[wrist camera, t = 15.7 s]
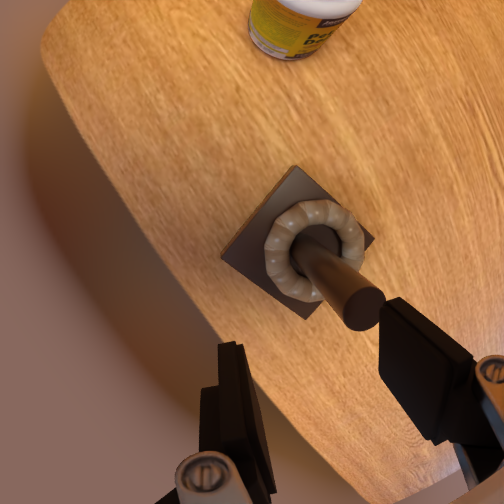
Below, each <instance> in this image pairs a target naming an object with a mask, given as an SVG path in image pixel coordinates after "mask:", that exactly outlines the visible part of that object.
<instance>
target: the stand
mask: <svg viewBox="0 0 504 504" xmlns="http://www.w3.org/2000/svg"><path fill="white" fill-rule="evenodd" d="M322 199H327V200H330V201H332V202H334V203H336V204H338V205H340V204H339V203H338V202H337V201H336V200H335V199H334V198H333V197H331V196H330V195H329V194H328V193H327V192H326V191H325V190H324V189H323V188H322V187H321V186H320V185H318V184H317V183H316V182H315V181H314V180H313V179H312V178H311V177H310V176H308V175H307V174H306V173H305V172H304V171H303V170H302V169H300V168H299V167H298V166H297V165H293V166H292V167H291V168H290V169H289V170H288V171H287V173H286V174H285V175H284V176H283V177H282V179H281V180H280V181H279V182H278V183H277V185H276V186H275V187H274V188H273V189H272V191H271V192H270V193H269V194H268V195H267V197H266V198H265V199H264V200H263V202H262V203H261V204H260V205H259V206H258V208H257V209H256V210H255V211H254V213H253V214H252V215H251V216H250V217H249V219H248V220H247V221H246V222H245V224H244V225H243V226H242V227H241V228H240V230H239V231H238V232H237V233H236V235H235V236H234V237H233V238H232V240H231V241H230V242H229V243H228V245H227V246H226V247H225V248H224V250H223V251H222V252H221V259H222V260H224V261H225V262H226V263H228V264H229V265H230V266H232V267H233V268H234V269H236V270H237V271H239V272H240V273H241V274H243V275H244V276H245V277H247V278H248V279H249V280H251V281H252V282H253V283H255V284H256V285H258V286H259V287H260V288H262V289H263V290H264V291H266V292H267V293H268V294H270V295H271V296H273V297H274V298H275V299H277V300H278V301H279V302H281V303H282V304H284V305H285V306H286V307H288V308H289V309H291V310H292V311H293V312H295V313H296V314H297V315H299V316H300V317H302V318H303V319H304V320H306V319H307V318H308V317H309V316H310V315H311V314H312V313H313V312H314V311H315V309H316V308H317V307H318V306H319V305H320V304H321V303H322V302H323V300H321V301H315V302H309V303H307V302H303V301H300V300H298V299H295V298H292V297H290V296H287V295H285V294H283V293H282V292H281V291H280V290H279V288H278V287H277V286H276V284H275V283H274V282H273V281H272V279H271V278H270V277H269V275H268V274H267V271H266V262H265V251H264V244H265V241H266V239H267V237H268V235H269V233H270V231H271V228H272V226H273V224H274V222H275V220H276V219H277V218H278V217H279V216H280V215H282V214H283V213H284V212H286V211H287V210H288V209H290V208H291V207H293V206H294V205H295V204H297V203H299V202H301V201H311V200H322ZM340 206H341V205H340ZM356 221H357V220H356ZM357 222H358V221H357ZM358 224H359V226H360V228H361V229H362V231H363V233H364V252H365V251H366V249H367V248H368V247H369V246H370V244H371V243H372V242H373V241H374V239H375V238H374V237H373V236H372V235H371V234H370V233H369V232H368V231H367V230H366V229H365V228H364V227H363V226H362V225H361V224H360V223H359V222H358ZM289 255H290V264H291V266H292V267H293V269H294V270H295V271H296V273H297V274H298V275H300V276H303V277H305V278H308V279H310V281H311V282H312V283H313V284H314V286H315V287H316V288H317V289H318V291H319V292H320V293H321V294H322V296H323V297H324V298H325V299H326V301H327V302H328V303H329V305H330V306H331V307H332V308H333V310H334V311H335V312H336V313H337V315H338V316H339V317H340V318H341V320H342V321H343V322H344V324H345V325H346V326H347V327H348V328H349V329H351V330H354V331H365V330H368V329H370V328H372V327H374V326H375V325H376V324H377V323H378V322H379V309H380V307H383V303H384V302H385V301H386V298H385V295H384V293H383V292H382V291H381V290H380V289H379V288H377V287H376V286H375V285H374V284H372V283H371V282H370V281H369V280H367V279H366V278H365V277H364V276H362V275H361V274H360V273H359V272H357V271H356V270H355V269H353V268H352V267H351V266H350V265H348V264H347V263H346V262H344V261H343V260H342V259H341V256H342V240H341V239H340V237H339V236H338V234H337V232H336V231H335V229H332V228H330V227H328V226H326V225H324V224H318V225H309V226H307V227H306V228H305V229H303V230H302V231H301V232H299V233H298V234H297V235H296V236H295V238H294V240H293V242H292V244H291V246H290V249H289Z"/></svg>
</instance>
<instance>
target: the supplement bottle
mask: <svg viewBox="0 0 504 504" xmlns="http://www.w3.org/2000/svg"><path fill="white" fill-rule="evenodd" d="M361 2H362V0H253V4H252V8H251V11H250V16H249V20H248V30H249V34H250V36H251V38H252V40H253V41H254V43H255V44H256V45H257V46H258V47H259V48H260V49H261V50H262V51H264V52H265V53H267V54H269V55H271V56H273V57H276V58H280V59H285V60H296V59H302V58H305V57H307V56H309V55H311V54H313V53H314V52H315V51H316V50H317V49H318V48H319V47H320V46H321V45H322V44H323V43H324V42H325V41H326V40H327V39H328V38H329V37H330V36H331V35H332V34H333V33H334V32H335V31H336V30H337V29H338V28H339V27H340V26H341V25H342V24H343V22H344V21H345V20H346V19H348V17H349V16H350V15H351V14H352V13H353V12H355V10H356V9H357V8H358V7H359V6H360V4H361Z"/></svg>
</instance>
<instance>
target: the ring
mask: <svg viewBox="0 0 504 504" xmlns="http://www.w3.org/2000/svg"><path fill="white" fill-rule="evenodd" d="M318 224H324V225H326V226H328V227H330V228H332V229H335V231H336V232H337V234H338V236H339V237H340V239H341V240H342V256H341V259H342V260H343V261H344V262H346V263H347V264H348V265H350V266H351V267H352V268H353V269H355V270H356V271H357V272H359V270H360V268H361V266H362V264H363V262H364V233H363V231H362V229H361V228H360V226H359V224H358V222H357V221H356V219H355V217H354V215H353V214H352V213H351V212H350V211H349V210H347V209H346V208H344V207H342V206H340V205H338V204H336V203H334V202H332V201H330V200H327V199H322V200H311V201H301V202H299V203H297V204H295V205H294V206H293V207H291V208H290V209H288V210H287V211H286V212H284V213H283V214H282V215H280V216H279V217H278V218H277V219H276V220H275V222H274V224H273V226H272V228H271V231H270V233H269V235H268V237H267V239H266V241H265V244H264V251H265V262H266V271H267V274H268V275H269V277H270V278H271V279H272V281H273V282H274V283H275V284H276V286H277V287H278V288H279V290H280V291H281V292H282V293H283V294H285V295H287V296H290V297H292V298H295V299H298V300H300V301H303V302H307V303H309V302H315V301H321V300H326V299H325V298H324V297H323V296H322V294H321V293H320V292H319V291H318V289H317V288H316V287H315V286H314V284H313V283H312V282H311V281H310V279H308V278H305V277H303V276H300V275H298V274H297V273H296V271H295V270H294V269H293V267H292V266H291V264H290V255H289V249H290V246H291V244H292V242H293V240H294V238H295V236H296V235H297V234H298V233H299V232H301V231H302V230H303V229H305V228H306V227H307V226H309V225H318Z"/></svg>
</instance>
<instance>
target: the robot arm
mask: <svg viewBox="0 0 504 504" xmlns="http://www.w3.org/2000/svg"><path fill="white" fill-rule="evenodd" d="M378 369H379V375H380V377H381V379H382V380H383V382H384V383H385V384H386V386H387V387H388V388H389V390H390V391H391V393H392V394H393V395H394V397H395V398H396V399H397V401H398V402H399V404H400V405H401V406H402V408H403V409H404V411H405V412H406V413H407V415H408V416H409V418H410V419H411V420H412V422H413V423H414V425H415V426H416V427H417V429H418V430H419V432H420V433H421V434H422V436H423V437H424V438H425V440H431V441H432V443H433V444H434V445H435V446H437V445H439V444H440V443H442V442H444V441H446V440H449V442H450V443H453V448H454V450H455V453H456V455H457V458H458V461H459V464H460V466H461V469H462V472H463V474H464V478H465V481H466V483H467V486H468V490H469V491H468V492H467V493H465V494H464V495H462V496H461V497H459V498H457V499H456V500H454V501H452V502H451V503H449V504H504V356H502V355H490V356H486V357H484V358H482V359H481V360H480V361H479V362H478V363H477V362H476V361H475V360H474V359H473V355H472V354H470V353H469V352H468V351H467V350H466V349H465V348H463V347H462V346H461V345H460V344H458V343H457V342H456V341H455V340H454V339H452V338H451V337H450V336H449V335H448V334H446V333H445V332H444V331H443V330H441V329H440V328H439V327H438V326H436V325H435V324H434V323H433V322H431V321H430V320H429V319H428V318H426V317H425V316H424V315H423V314H421V313H420V312H419V311H418V310H416V309H415V308H414V307H412V306H411V305H410V304H409V303H407V302H406V301H405V300H403V299H402V298H400V297H397V298H394V299H391V300H388V301H385V302H384V303H383V307H380V309H379V368H378ZM218 377H219V379H218V380H219V385H218V386H212V387H206V388H202V389H201V398H200V399H201V400H200V426H199V452H198V453H195V454H193V455H190V456H189V457H187V458H186V459H184V460H183V461H182V462H181V463H180V465H179V466H178V467H177V469H176V472H175V484H176V488H174V489H173V490H172V491H170V492H169V493H168V494H167V495H165V496H164V497H163V498H161V499H160V500H159V501H158V502H156V503H155V504H271V497H270V494H274V493H277V490H276V485H275V480H274V476H273V471H272V466H271V461H270V456H269V451H268V446H267V441H266V436H265V431H264V427H263V421H262V416H261V411H260V407H259V403H258V399H257V396H256V392H255V388H254V384H253V380H252V377H251V373H250V369H249V365H248V362H247V358H246V354H245V350H244V346H243V344H239V345H236V342H235V341H231V342H227V343H222V344H218Z"/></svg>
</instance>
